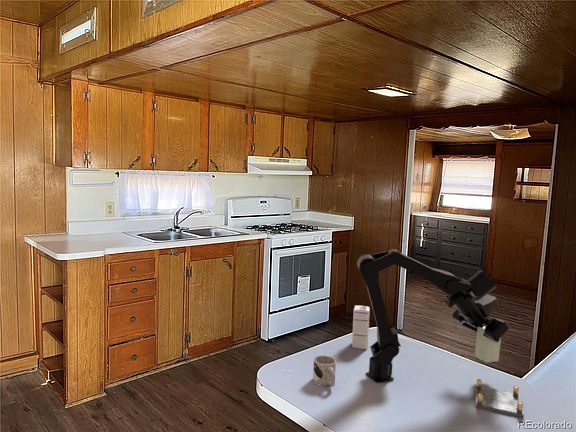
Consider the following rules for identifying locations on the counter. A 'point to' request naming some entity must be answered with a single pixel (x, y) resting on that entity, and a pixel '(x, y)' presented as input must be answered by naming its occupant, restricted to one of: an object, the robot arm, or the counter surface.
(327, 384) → the mug
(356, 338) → the syrup box
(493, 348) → the sage block
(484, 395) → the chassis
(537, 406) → the counter surface
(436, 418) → the counter surface
